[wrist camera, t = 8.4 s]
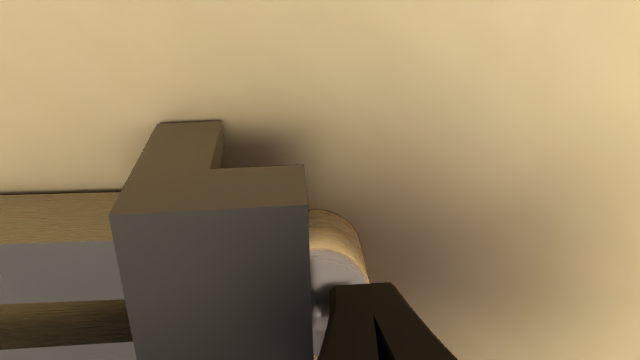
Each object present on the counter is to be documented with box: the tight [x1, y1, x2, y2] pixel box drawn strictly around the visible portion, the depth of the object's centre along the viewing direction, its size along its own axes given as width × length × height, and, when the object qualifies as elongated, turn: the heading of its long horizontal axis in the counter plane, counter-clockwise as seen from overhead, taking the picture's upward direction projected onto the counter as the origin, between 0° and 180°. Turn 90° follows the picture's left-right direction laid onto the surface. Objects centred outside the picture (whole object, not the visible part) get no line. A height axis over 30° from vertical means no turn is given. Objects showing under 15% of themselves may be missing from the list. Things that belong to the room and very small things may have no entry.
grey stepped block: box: [108, 121, 314, 360], centre depth 13 cm, size 7×3×4 cm, turn 1°
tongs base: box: [0, 209, 370, 360], centre depth 14 cm, size 4×15×2 cm, turn 91°
